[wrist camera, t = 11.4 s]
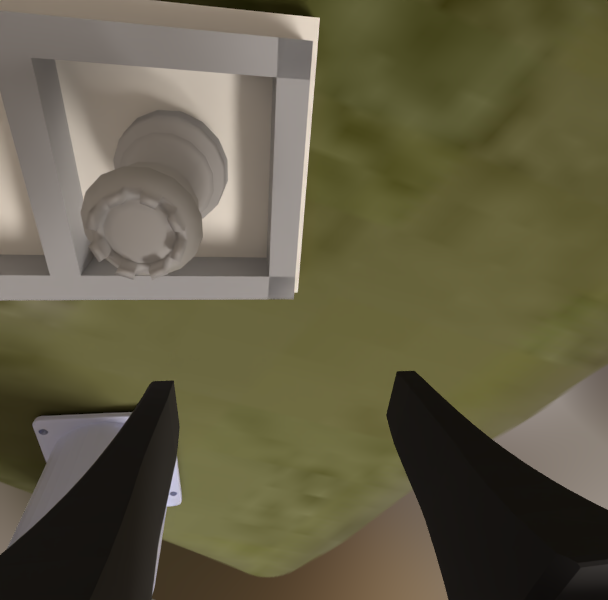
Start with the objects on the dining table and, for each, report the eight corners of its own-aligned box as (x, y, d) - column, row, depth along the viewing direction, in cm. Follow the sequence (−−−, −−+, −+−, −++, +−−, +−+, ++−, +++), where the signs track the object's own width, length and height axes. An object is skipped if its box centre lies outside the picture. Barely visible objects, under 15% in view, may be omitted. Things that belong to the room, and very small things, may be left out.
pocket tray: (295, 283, 22) (302, 312, 20) (-139, 282, 19) (-196, 317, 17) (315, 19, 16) (329, 14, 14) (-319, -47, 13) (-453, -70, 11)
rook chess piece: (248, 153, 18) (255, 219, 11) (195, 233, 19) (171, 334, 12) (152, 82, 16) (88, 107, 9) (101, 176, 17) (13, 258, 11)
